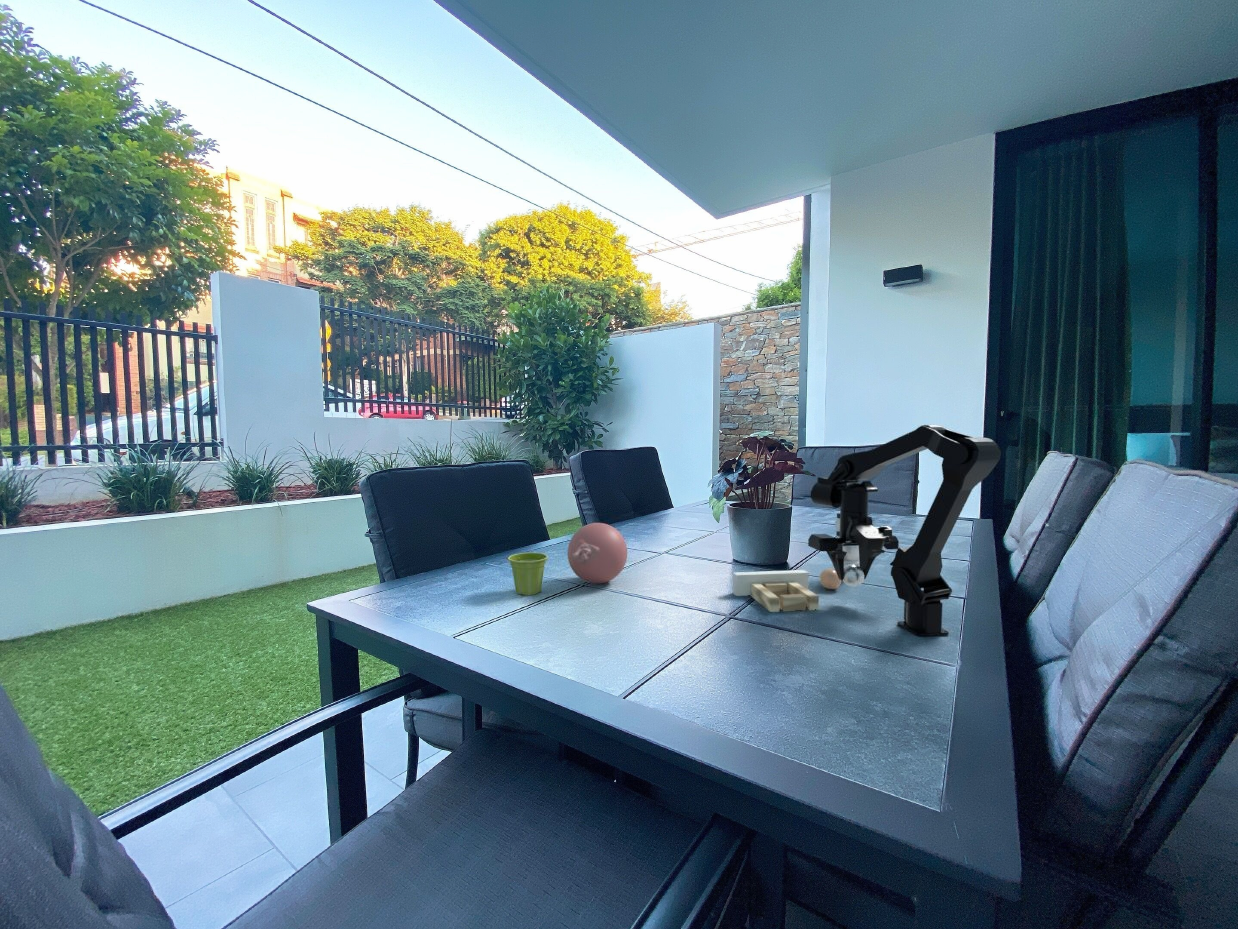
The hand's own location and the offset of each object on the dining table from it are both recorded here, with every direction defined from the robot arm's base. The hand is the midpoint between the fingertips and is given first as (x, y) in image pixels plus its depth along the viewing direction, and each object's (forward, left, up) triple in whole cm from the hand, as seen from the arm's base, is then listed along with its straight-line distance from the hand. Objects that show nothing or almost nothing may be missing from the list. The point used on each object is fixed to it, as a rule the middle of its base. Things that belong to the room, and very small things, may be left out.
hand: (852, 579), depth 116 cm
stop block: (+10, +15, -6) cm, 19 cm away
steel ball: (0, 0, +1) cm, 1 cm away
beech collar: (+3, +15, -6) cm, 16 cm away
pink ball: (+22, +57, -6) cm, 61 cm away
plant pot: (+18, +73, -6) cm, 75 cm away
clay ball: (+11, -1, -3) cm, 11 cm away
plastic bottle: (+20, -11, -6) cm, 23 cm away
